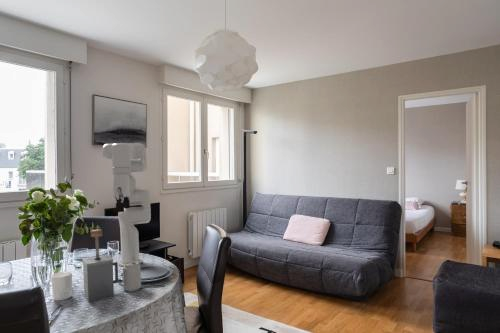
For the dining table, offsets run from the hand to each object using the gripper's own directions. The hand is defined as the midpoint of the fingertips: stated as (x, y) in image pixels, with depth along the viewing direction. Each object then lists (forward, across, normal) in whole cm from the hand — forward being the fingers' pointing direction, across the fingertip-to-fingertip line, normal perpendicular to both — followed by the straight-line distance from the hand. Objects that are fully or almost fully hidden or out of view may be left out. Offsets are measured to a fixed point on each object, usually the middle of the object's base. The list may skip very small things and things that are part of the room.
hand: (123, 210), depth 148 cm
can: (+37, -2, +2) cm, 37 cm away
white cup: (+37, +2, -26) cm, 45 cm away
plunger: (+22, +3, -11) cm, 25 cm away
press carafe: (+36, +2, -9) cm, 38 cm away
